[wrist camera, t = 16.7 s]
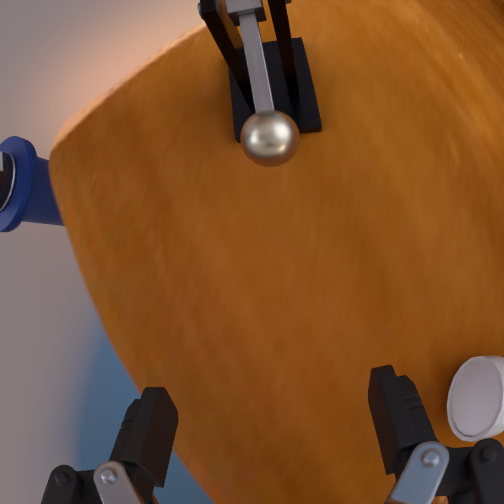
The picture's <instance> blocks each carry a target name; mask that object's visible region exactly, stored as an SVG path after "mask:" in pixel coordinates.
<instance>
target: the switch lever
mask: <svg viewBox="0 0 504 504" xmlns="http://www.w3.org/2000/svg"><path fill="white" fill-rule="evenodd" d="M225 5H226V10H227V14H228V16H229V17H230V19H231V21H232V22H233V24H234V26H240V29H241V34H242V39H243V44H244V50H245V55H246V60H247V66H248V71H249V77H250V82H251V88H252V94H253V99H254V105H255V111H256V113H255V114H253V115H252V116H250V117H249V118H248V119H247V121H246V122H245V123H244V125H243V127H242V130H241V135H240V140H241V146H242V149H243V151H244V153H245V154H246V156H247V157H248V158H249V159H250V160H252V161H253V162H254V163H256V164H258V165H261V166H265V167H276V166H280V165H282V164H284V163H286V162H288V161H289V160H290V159H291V158H292V157H293V156H294V155H295V153H296V152H297V149H298V147H299V142H300V135H299V130H298V128H297V125H296V124H295V122H294V121H293V120H292V119H291V118H290V117H289V116H288V115H287V114H285V113H283V112H281V111H278V110H275V108H274V102H273V97H272V91H271V86H270V80H269V75H268V70H267V64H266V59H265V54H264V49H263V44H262V39H261V34H260V29H259V25H258V22H261V21H266V16H265V12H264V7H263V3H262V0H225Z"/></svg>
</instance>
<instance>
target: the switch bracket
mask: <svg viewBox="0 0 504 504" xmlns="http://www.w3.org/2000/svg"><path fill="white" fill-rule="evenodd" d="M267 1H268V5H269V9H270V13H271V17H272V21H273V25H274V29H275V34H276V38H277V41H271V42H264V43H262V44H263V49H264V54H265V59H266V64H267V70H268V75H269V80H270V86H271V91H272V97H273V102H274V108H275V110H278V111H281V112H283V113H285V114H287V115H288V116H289V117H290V118H291V119H292V120H293V121H294V122H295V124H296V125H297V128H298V130H299V134H300V133H308V132H317V131H322V124H321V119H320V114H319V109H318V105H317V100H316V95H315V91H314V86H313V82H312V77H311V73H310V69H309V65H308V61H307V57H306V53H305V49H304V45H303V41H302V38H301V37H300V38H292V39H291V33H290V26H289V21H288V15H287V9H286V4H288V3H291V2H292V1H291V0H267ZM198 11H199V14H200V16H201V18H202V19H203V20H204V21H205V23H206V25H207V27H208V29H209V30H210V32H211V34H212V36H213V38H214V40H215V42H216V44H217V45H218V47H219V49H220V51H221V53H222V55H223V57H224V59H225V61H226V63H227V65H228V70H229V80H230V90H231V101H232V111H233V121H234V131H235V139H236V140H237V142H238V143H241V140H240V135H241V130H242V127H243V125H244V123H245V122H246V121H247V119H248V118H249V117H250V116H252V115H253V114H255V113H256V111H255V105H254V99H253V94H252V88H251V82H250V77H249V71H248V66H247V60H246V55H245V50H244V44H243V42H242V39H241V36H240V34H239V32H238V29H237V27H236V26H234V24H233V22H232V21H231V19H230V17H229V16H228V14H227V10H226V5H225V0H200V3H198Z"/></svg>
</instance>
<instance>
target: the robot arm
mask: <svg viewBox="0 0 504 504" xmlns="http://www.w3.org/2000/svg"><path fill="white" fill-rule="evenodd" d="M16 179H17V163H16V159H15V157H14V155H13V154H11V153H8V152H3V151H0V213H1V212H2V211H3V210H4V209H5V208H6V207H7V205H8V204H9V202H10V200H11V198H12V195H13V192H14V189H15V185H16ZM368 402H369V407H370V411H371V415H372V418H373V422H374V426H375V430H376V434H377V438H378V442H379V446H380V450H381V454H382V458H383V462H384V467H385V471H386V475H389V474H393V473H394V474H395V478H396V483H395V484H394V486H393V488H392V490H391V492H390V493H389V495H388V497H387V499H386V500H385V502H384V504H431V502H432V500H433V498H434V496H447V498H448V503H449V504H504V448H503V446H502V445H501V443H500V442H499V441H497V440H495V439H492V438H485V439H482V440H480V441H478V442H477V443H476V444H475V445H474V447H462V448H451V447H447V446H445V445H443V444H441V443H440V442H439V441H438V440H437V438H436V436H435V434H434V432H433V429H432V426H431V424H430V421H429V418H428V416H427V413H426V411H425V408H424V406H423V405H422V401H421V398H420V396H419V394H418V391H417V389H416V386H415V384H414V383H413V382H412V381H411V380H410V379H409V378H408V377H407V376H406V375H403V376H398V377H396V374H395V372H394V369H393V367H392V365H385V366H381V367H376V368H372V369H371V375H370V382H369V389H368ZM177 425H178V411H177V409H176V407H175V405H174V403H173V401H172V400H171V398H170V396H169V394H168V392H167V390H166V389H165V388H164V387H146V388H145V389H144V391H143V393H142V396H141V399H135V400H134V401H133V403H132V404H131V405H130V406H129V407H128V409H127V412H126V414H125V417H124V421H123V422H122V425H121V429H120V431H119V434H118V436H117V439H116V442H115V445H114V448H113V451H112V453H111V456H110V459H109V460H108V461H106V462H103V463H102V464H100V465H99V466H98V467H97V468H96V469H95V470H87V471H75V470H74V469H73V468H72V467H70V466H68V465H60V466H58V467H56V468H55V469H54V470H53V471H52V472H51V474H50V477H49V480H48V483H47V486H46V489H45V492H44V495H43V499H42V502H41V504H159V503H158V502H157V499H156V498H155V496H154V494H153V489H154V486H155V487H162V488H163V487H164V483H165V478H166V473H167V469H168V464H169V460H170V455H171V451H172V446H173V442H174V438H175V433H176V429H177Z"/></svg>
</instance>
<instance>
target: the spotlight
mask: <svg viewBox="0 0 504 504" xmlns="http://www.w3.org/2000/svg"><path fill="white" fill-rule="evenodd" d="M447 414H448V421H449V424H450V426H451V429H452V431H453V433H454V434H455V435H456V436H457V437H458V438H459V439H461V440H464V441H470V442H473V441H478V440H482V439H485V438H490V437H492V436H495V435H497V434H499V433H501V432H502V431H503V430H504V358H503V357H501V356H478V357H472V358H470V359H469V360H468V361H466V362H465V363H464V364H462V365H461V367H460V368H459V370H458V371H457V373H456V374H455V376H454V378H453V380H452V383H451V386H450V389H449V393H448V401H447Z"/></svg>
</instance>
